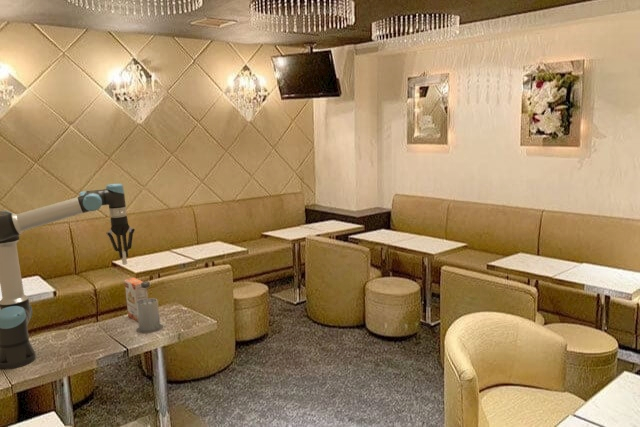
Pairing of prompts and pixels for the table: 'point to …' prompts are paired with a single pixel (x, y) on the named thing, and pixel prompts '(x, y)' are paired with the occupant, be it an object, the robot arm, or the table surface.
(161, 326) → the coaster
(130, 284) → the cracker box
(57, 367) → the table surface
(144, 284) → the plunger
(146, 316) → the grey hexagonal cup
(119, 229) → the robot arm
